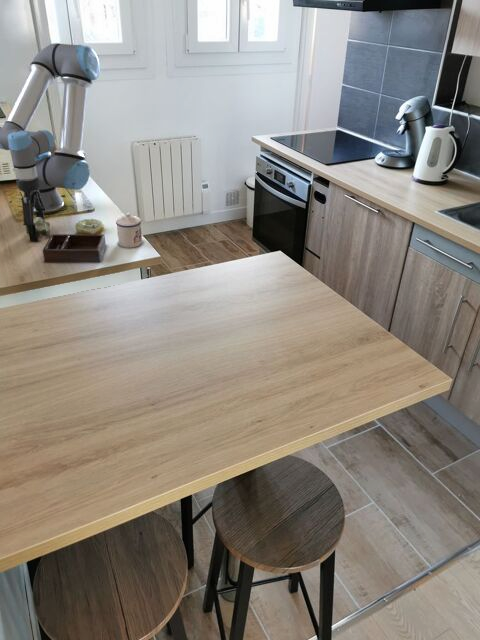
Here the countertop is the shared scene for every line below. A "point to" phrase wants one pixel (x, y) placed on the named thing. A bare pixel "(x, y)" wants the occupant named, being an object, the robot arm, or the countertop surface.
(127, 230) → the teacup with lid
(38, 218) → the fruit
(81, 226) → the decorated donut
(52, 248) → the caddy
